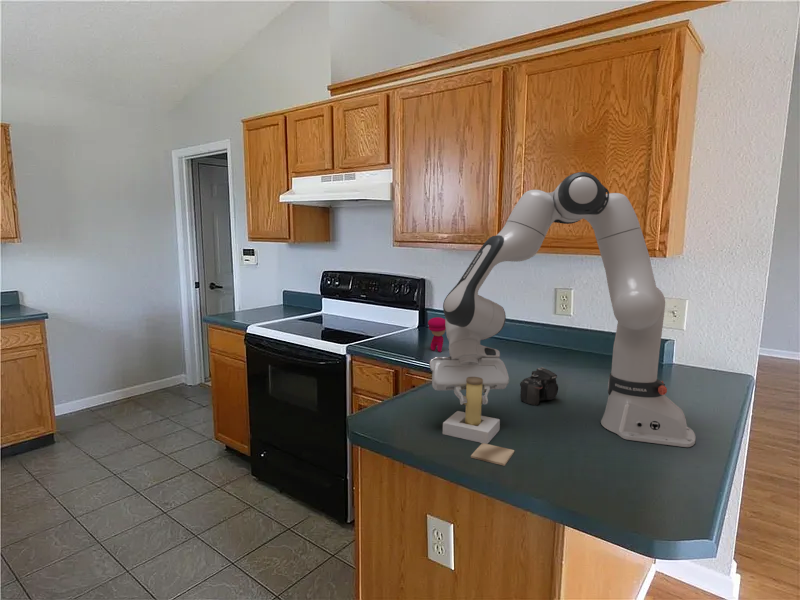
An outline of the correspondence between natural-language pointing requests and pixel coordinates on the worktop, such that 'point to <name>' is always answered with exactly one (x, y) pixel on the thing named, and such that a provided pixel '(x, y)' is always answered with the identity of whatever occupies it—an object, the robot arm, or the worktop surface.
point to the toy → (437, 332)
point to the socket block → (471, 428)
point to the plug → (473, 400)
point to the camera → (539, 386)
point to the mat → (492, 454)
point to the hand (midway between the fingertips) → (474, 403)
